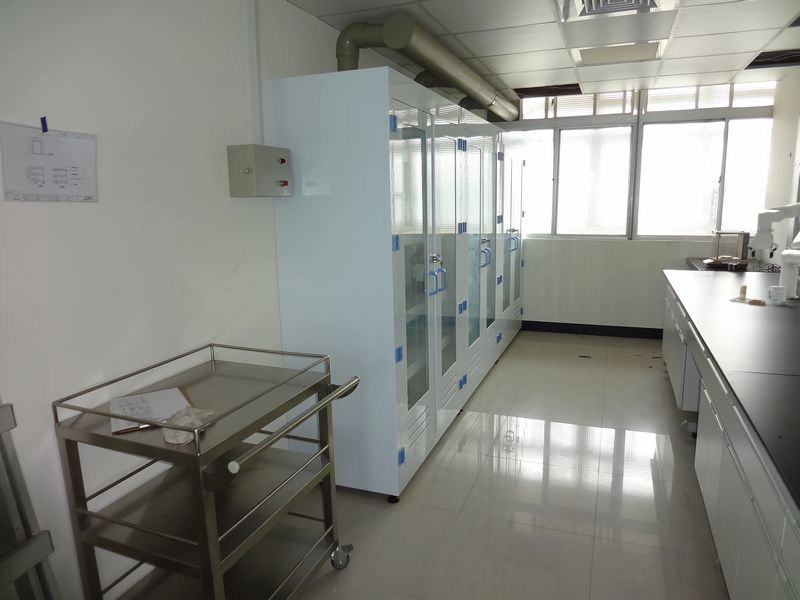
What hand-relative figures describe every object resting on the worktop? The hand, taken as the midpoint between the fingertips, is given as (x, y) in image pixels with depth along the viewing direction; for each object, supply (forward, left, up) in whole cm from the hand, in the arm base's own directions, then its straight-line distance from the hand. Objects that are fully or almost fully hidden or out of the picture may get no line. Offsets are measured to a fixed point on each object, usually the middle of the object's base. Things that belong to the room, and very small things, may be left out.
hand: (762, 257), depth 348 cm
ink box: (+9, +13, -28) cm, 32 cm away
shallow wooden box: (+18, +5, -28) cm, 33 cm away
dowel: (+12, -5, -27) cm, 30 cm away
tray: (+12, -5, -28) cm, 31 cm away
